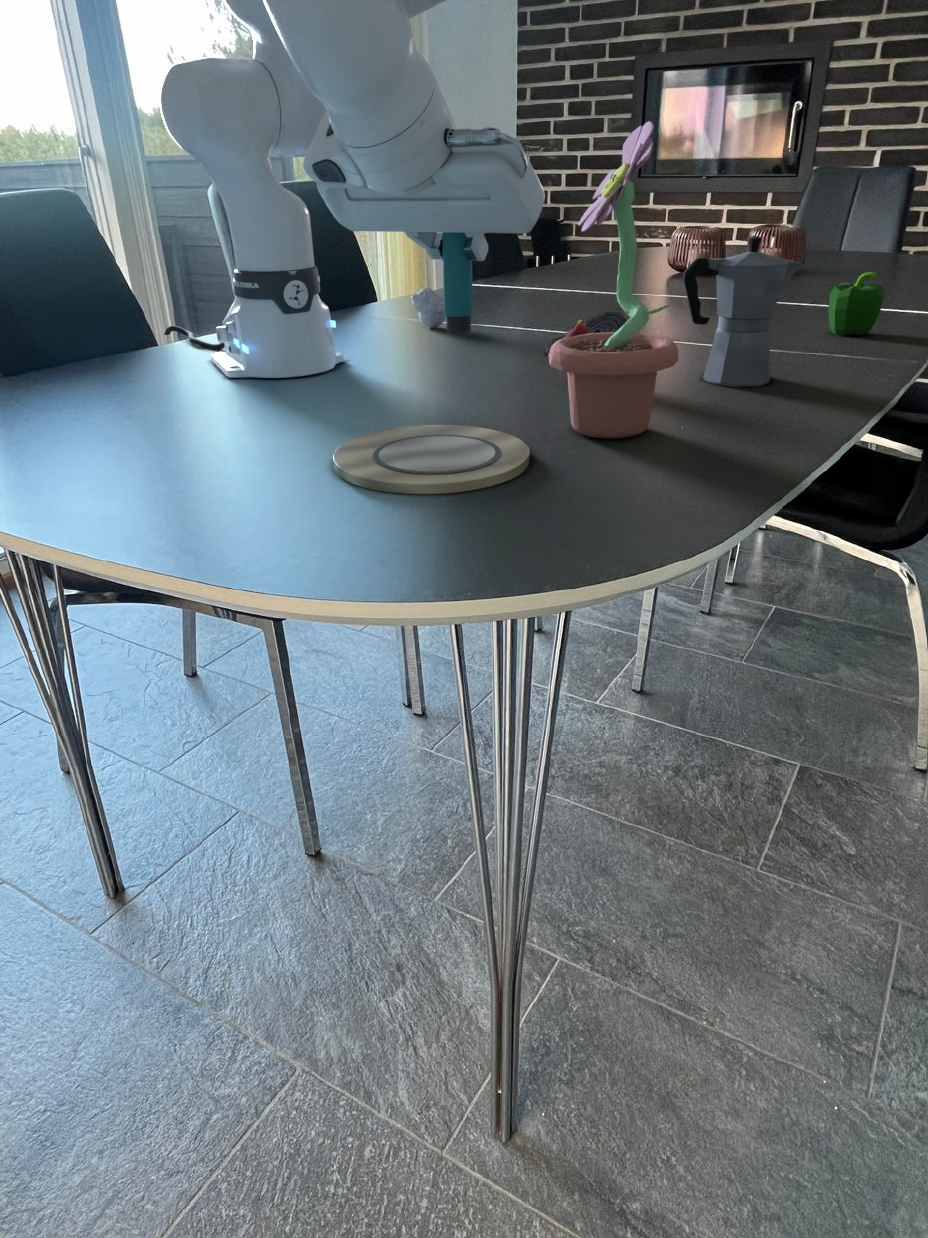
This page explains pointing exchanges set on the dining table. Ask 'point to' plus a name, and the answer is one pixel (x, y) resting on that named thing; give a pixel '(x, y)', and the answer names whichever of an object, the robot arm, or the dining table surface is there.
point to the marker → (457, 283)
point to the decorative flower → (623, 360)
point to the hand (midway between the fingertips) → (460, 254)
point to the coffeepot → (740, 312)
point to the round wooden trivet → (431, 459)
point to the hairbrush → (599, 325)
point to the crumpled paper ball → (429, 307)
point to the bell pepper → (855, 306)
